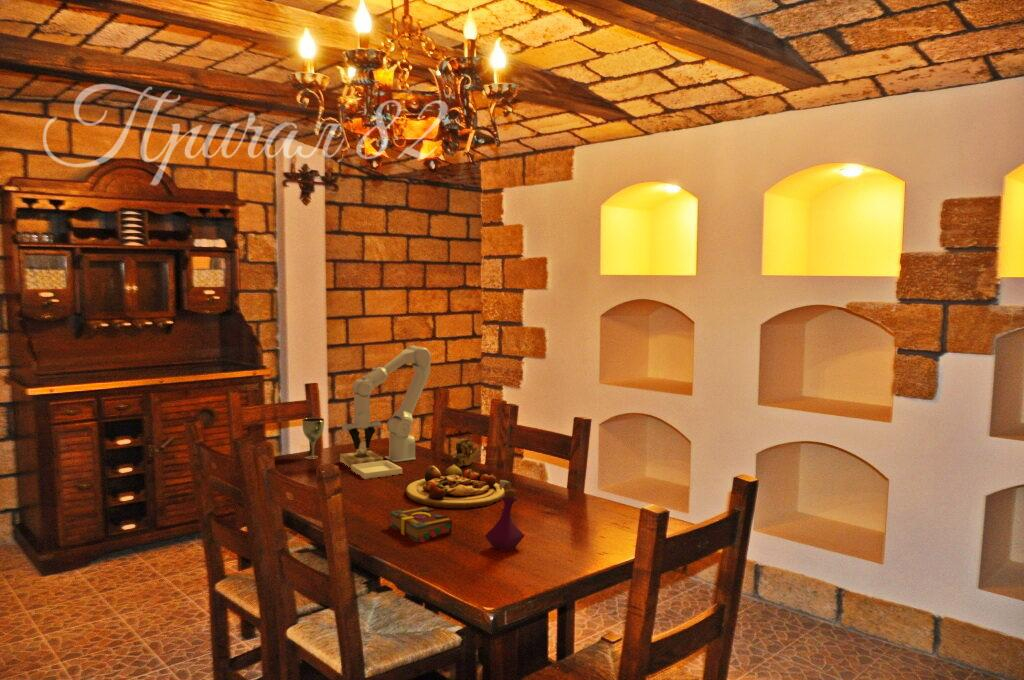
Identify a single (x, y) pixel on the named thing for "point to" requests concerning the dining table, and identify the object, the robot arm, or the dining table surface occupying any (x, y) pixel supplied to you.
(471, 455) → the wooden carving
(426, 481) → the wooden plate with food
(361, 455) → the peg
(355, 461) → the hitch block
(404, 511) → the decorative book
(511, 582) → the dining table surface
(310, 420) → the wine glass
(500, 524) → the perfume bottle
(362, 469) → the tray
